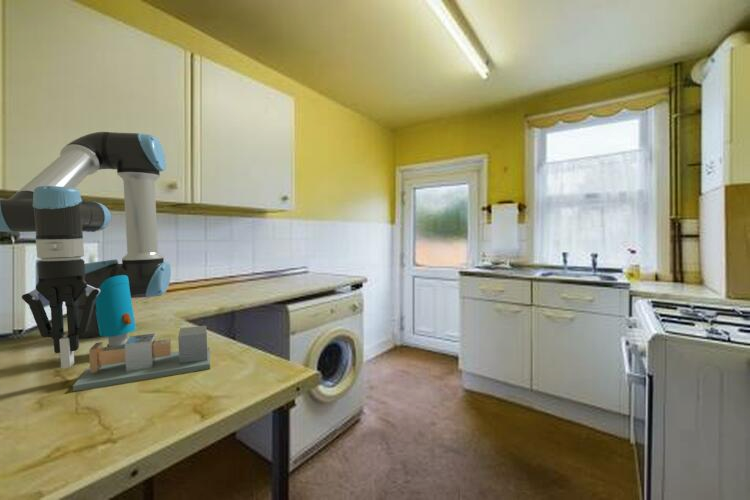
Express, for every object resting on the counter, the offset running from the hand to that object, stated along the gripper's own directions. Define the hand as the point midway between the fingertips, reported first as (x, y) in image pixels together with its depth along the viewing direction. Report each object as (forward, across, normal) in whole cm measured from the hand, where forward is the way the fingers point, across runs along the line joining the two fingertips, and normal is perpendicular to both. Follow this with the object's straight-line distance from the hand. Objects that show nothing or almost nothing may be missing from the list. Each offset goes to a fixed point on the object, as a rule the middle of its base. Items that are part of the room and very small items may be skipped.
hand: (67, 366), depth 76 cm
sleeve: (+2, +14, 0) cm, 14 cm away
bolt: (+2, +12, 0) cm, 12 cm away
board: (+4, +15, 0) cm, 16 cm away
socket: (+2, +25, 0) cm, 25 cm away
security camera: (+4, +6, +18) cm, 19 cm away
